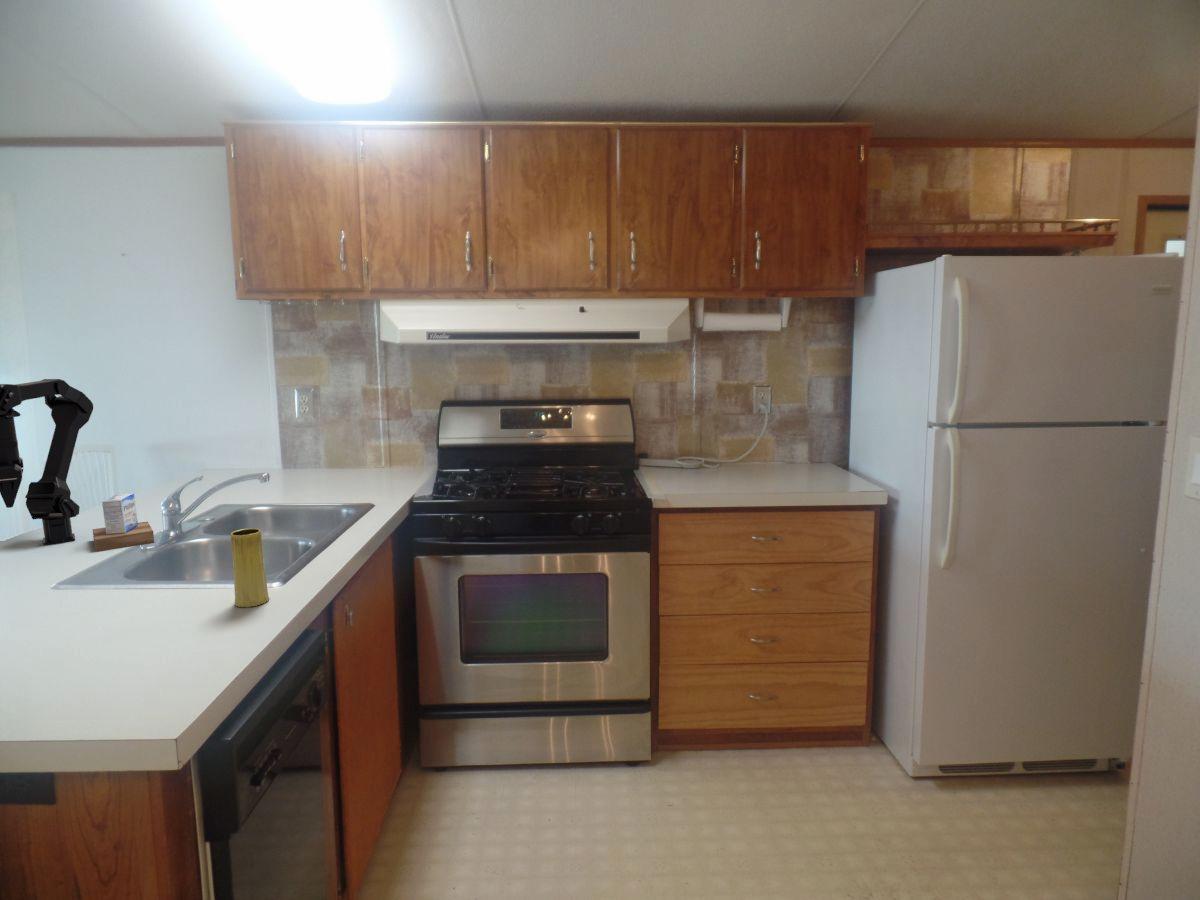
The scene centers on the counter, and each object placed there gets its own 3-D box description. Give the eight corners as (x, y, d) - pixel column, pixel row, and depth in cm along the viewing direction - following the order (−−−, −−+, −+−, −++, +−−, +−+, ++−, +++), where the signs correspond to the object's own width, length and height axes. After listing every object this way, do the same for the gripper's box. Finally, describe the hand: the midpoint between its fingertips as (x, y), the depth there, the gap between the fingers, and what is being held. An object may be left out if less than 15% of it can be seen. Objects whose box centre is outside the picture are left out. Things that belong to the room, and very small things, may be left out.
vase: (275, 596, 141) (269, 527, 138) (257, 608, 135) (251, 536, 132) (246, 595, 141) (240, 527, 139) (227, 607, 135) (220, 536, 133)
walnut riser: (93, 540, 181) (92, 529, 180) (148, 532, 188) (147, 521, 187) (96, 551, 171) (95, 539, 171) (154, 542, 178) (153, 531, 178)
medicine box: (125, 533, 176) (121, 499, 174) (105, 534, 175) (101, 501, 173) (138, 525, 183) (134, 493, 182) (119, 526, 182) (115, 494, 181)
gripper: (-43, 437, 165) (-32, 501, 168) (-51, 446, 151) (-39, 517, 153) (18, 432, 172) (27, 495, 175) (16, 441, 158) (26, 509, 160)
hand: (10, 503), depth 165 cm, fingers open, 9 cm apart
